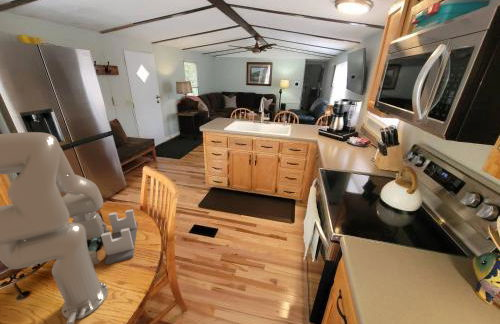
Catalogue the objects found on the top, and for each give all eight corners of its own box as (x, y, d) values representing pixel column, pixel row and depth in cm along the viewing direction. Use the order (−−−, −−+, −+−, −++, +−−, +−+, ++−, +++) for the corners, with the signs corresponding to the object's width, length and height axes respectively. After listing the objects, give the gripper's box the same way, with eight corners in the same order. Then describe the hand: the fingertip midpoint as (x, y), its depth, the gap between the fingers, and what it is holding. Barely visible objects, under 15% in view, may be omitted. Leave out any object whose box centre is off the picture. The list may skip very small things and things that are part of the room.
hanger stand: (133, 257, 89) (127, 235, 84) (105, 264, 85) (98, 242, 81) (137, 224, 109) (133, 205, 105) (116, 228, 106) (110, 209, 101)
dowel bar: (98, 263, 86) (94, 252, 83) (81, 268, 83) (76, 257, 81) (108, 232, 103) (105, 222, 101) (94, 235, 101) (91, 225, 98)
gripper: (56, 224, 80) (70, 259, 87) (105, 215, 86) (115, 248, 93) (64, 213, 86) (76, 247, 93) (109, 205, 92) (118, 237, 99)
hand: (95, 247), depth 93 cm, fingers closed on dowel bar, 3 cm apart
